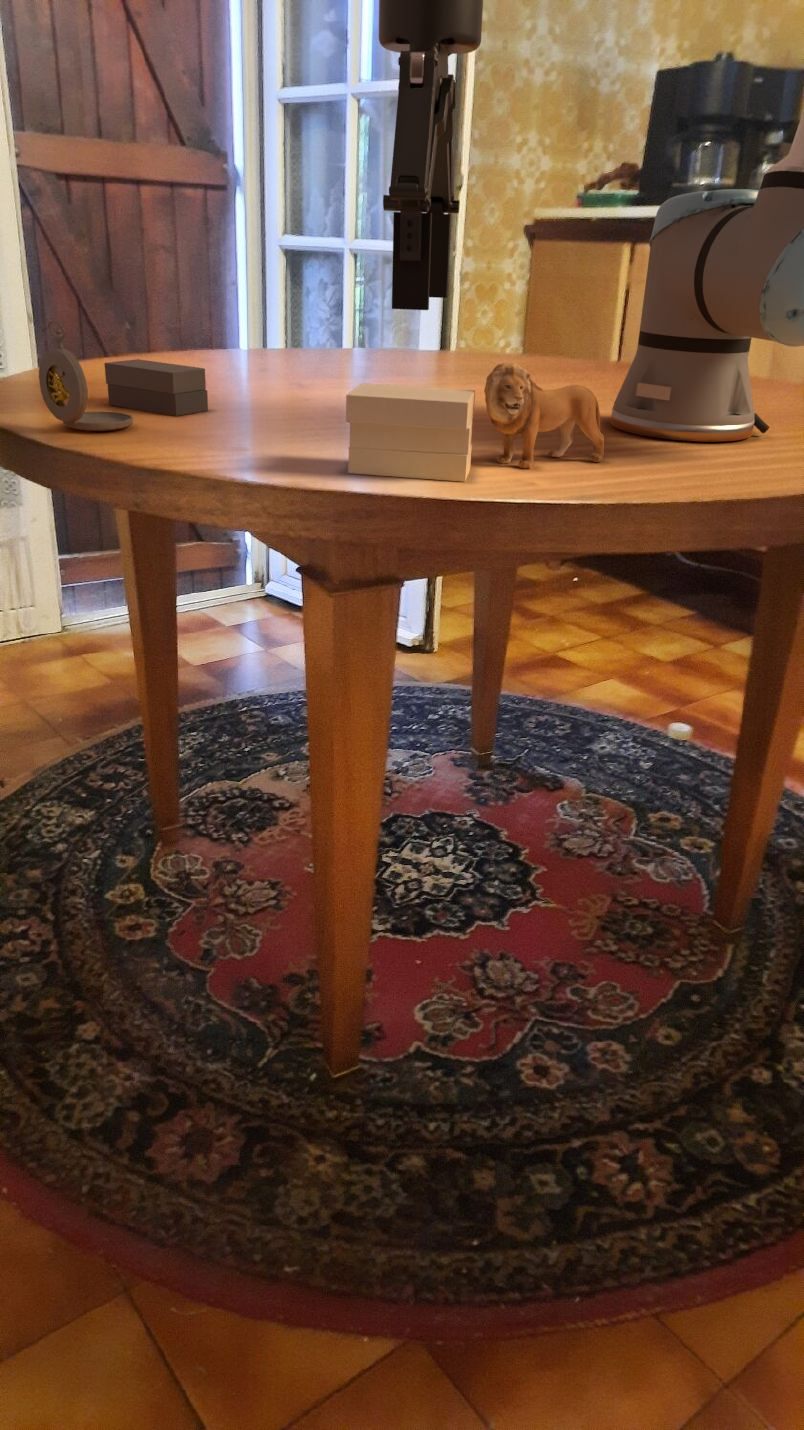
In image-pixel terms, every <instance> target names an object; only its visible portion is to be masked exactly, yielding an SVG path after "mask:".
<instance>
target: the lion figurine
mask: <svg viewBox="0 0 804 1430" xmlns="http://www.w3.org/2000/svg"><path fill="white" fill-rule="evenodd" d="M483 392H484V397H485V399H484V400H485V405H486V412H487V413H488V417H489V421H490V423H491V425H493V427H494V429H495V430H496V431H498V432H501V435H502V437H501V438H502V447H503V454H501V455H499V456H497V459H496V461H497V463H500V464H509V463H510V462H511V461H512V458H513V455H514V452H515V449H514V444H515V437H516V436H517V435H519V434H521V437H522V441H523V449H522V455H521V459H520V461H518V468H520V469H527V470H528V469H531V468H533V465H534V448H535V443H536V439H537V436H538V433H546V432H550V431H554V430H556V429H557V428H559V429H560V433H561V440H560V443H559V445H558V446H557V448H554V449H549V451H548V456H549V457H552V458H560V457H563V455H564V454H565V452H566V451H567V449H568V448H569V447H570V446H571V445H572V444H573V441H574V438H573V437H574V436H573V432H574V429H575V426H578V427H579V429H580V430H581V432H582V433H583V434H584V436H586V437H587V439H589V440H590V441H592V446H593V450H594V452H592V453H590V455H589V460H590V461H592V462H596V463H597V462H598V463H599V462H602V461H603V460H604V454H605V453H604V452H605V437H604V434H603V433H602V432H601V413H600V406H599V402H598V400H597V396H596V395H595V394H594V392H593V391H592V390H591V389H589V388H588V387H587V386H585V385H579V384H571V385H566V386H563V387H560V388H556V389H550V390H543V388H541V387H540V386H538V385H537V384H536V382H534V381H533V380H532V378H531V373H530V372H529V371H527V370H526V369H525V368H523V367H521V366H520V365H519V364H518V363H516V362H513V361H509V362H508V361H507V362H502V363H498V364H497V365H495V366H494V368H493V369H492V371H491V372H490V373H489V374H488V375H487V376H486V379H485V384H484V390H483Z"/></svg>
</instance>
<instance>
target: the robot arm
mask: <svg viewBox="0 0 804 1430" xmlns="http://www.w3.org/2000/svg"><path fill="white" fill-rule="evenodd" d="M483 7H484V0H378V42H379V44H380V46H381V47H382V48H384V49H385V50H387V51H391V52H394V53H399V56H398V60H397V61H398V66H399V74H398V86H397V89H398V91H397V92H398V93H397V106H396V117H395V125H394V126H395V127H394V138H393V139H394V140H393V151H392V163H391V164H392V165H391V175H390V184H389V186H388V194H383V195H382V196H383V197H382V206H383V211H385V212H393V220H392V221H393V225H392V227H393V229H392V237H393V238H392V274H391V275H392V278H391V279H392V280H391V281H392V282H391V309H392V310H413V311H428V310H430V298H437V299H438V298H439V299H447V298H448V291H449V290H448V289H449V268H450V266H449V264H450V241H451V219H452V214H459V213H460V200H458V199H457V200H456V199H455V193H454V133H455V109H456V104H457V98H458V85H457V81H456V79H455V77H454V74H451V73H449V57H450V56H451V55H454V54H455V55H464V54H469V53H472V52H475V51H476V50H478V49H479V48H480V45H481V43H482V34H483V33H482V32H483V31H482V30H483V12H484V8H483ZM648 246H649V254H648V263H647V271H646V277H645V278H646V279H645V287H644V294H643V301H642V309H641V318H640V324H639V333H638V340H637V347H636V348H637V349H636V351H635V356H634V357H633V360H632V362H631V364H630V366H629V369H628V371H627V374H626V376H625V378H624V380H623V382H622V384H621V387H620V389H619V390H618V393H617V395H616V398H615V401H614V403H613V406H612V408H611V417H610V425H612V427H614V428H616V429H618V430H621V431H623V432H627V433H631V434H635V435H640V436H645V437H651V438H658V439H666V440H676V441H685V442H686V441H687V442H734V441H741V440H746V439H749V438H750V437H752V435H753V432H754V427H755V428H756V429H757V430H758V431H760V432H761V434H763V435H764V434H765V433H766V432H767V431H768V430H769V429H770V426H769V425H768V424H767V423H766V422H765V421H764V420H763V419H762V418H761V417H760V416H759V414H758V413H757V412H755V407H754V398H753V391H752V383H751V376H750V368H749V355H750V349H751V344H752V339H758V340H764V341H770V342H774V343H777V344H781V345H784V346H787V347H791V348H792V347H795V348H796V347H797V348H798V347H804V110H802V114H801V117H800V119H799V123H798V125H797V128H796V132H795V135H794V138H793V141H792V144H791V145H790V150H789V152H788V154H787V155H786V156H785V157H784V158H783V159H781V160H779V161H777V162H776V163H775V164H773V165H772V166H771V167H769V168H767V169H766V170H765V172H764V174H763V178H762V181H761V184H760V186H759V189H747V188H746V189H745V188H731V189H729V188H728V189H727V188H725V189H715V190H701V191H694V192H688V193H683V194H682V193H681V194H678V195H675V196H673V197H669V198H668V199H666V200H665V201H664V202H663V203H662V204H661V205H660V206H659V207H658V209H657V211H656V214H655V218H654V222H653V228H652V231H651V236H650V238H649V243H648Z"/></svg>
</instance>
